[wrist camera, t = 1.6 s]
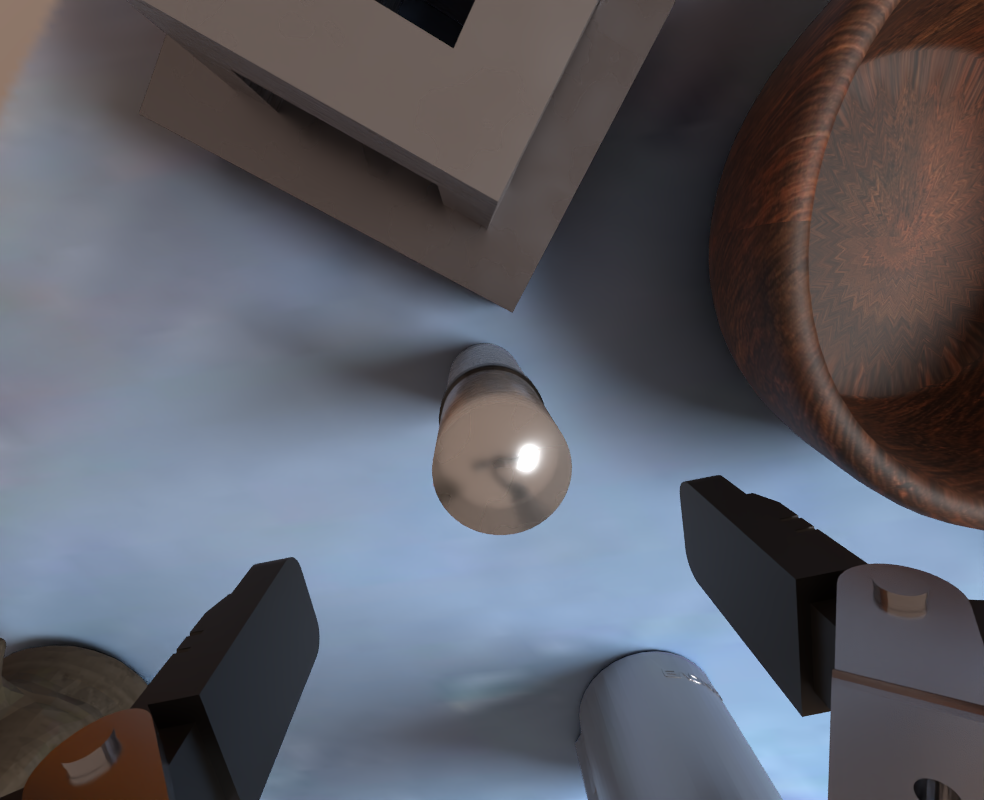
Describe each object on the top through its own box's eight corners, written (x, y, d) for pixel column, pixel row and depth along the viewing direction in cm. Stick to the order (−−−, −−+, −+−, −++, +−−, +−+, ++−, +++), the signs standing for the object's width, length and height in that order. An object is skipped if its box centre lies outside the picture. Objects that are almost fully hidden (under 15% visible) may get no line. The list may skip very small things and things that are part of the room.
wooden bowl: (602, 397, 29) (675, 459, 19) (765, -106, 23) (988, -395, 13) (978, 494, 31) (1218, 594, 21) (1199, 62, 26) (1655, -75, 16)
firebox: (502, 306, 27) (534, 326, 14) (216, 153, 25) (-48, 17, 12) (657, 7, 24) (866, -295, 12) (350, -198, 22) (188, -864, 9)
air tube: (500, 427, 29) (531, 559, 15) (434, 395, 28) (403, 502, 14) (535, 363, 28) (601, 440, 14) (468, 328, 27) (470, 373, 14)
